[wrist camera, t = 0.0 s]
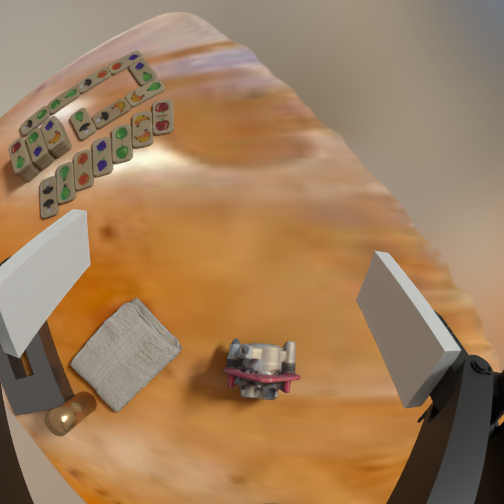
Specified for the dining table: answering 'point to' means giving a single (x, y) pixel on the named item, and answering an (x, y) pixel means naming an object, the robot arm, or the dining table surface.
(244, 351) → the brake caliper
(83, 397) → the tan cylinder
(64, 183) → the pile of dominoes
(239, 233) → the dining table surface
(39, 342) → the jig
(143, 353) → the washcloth
